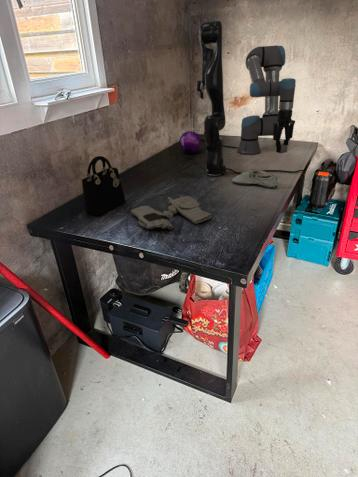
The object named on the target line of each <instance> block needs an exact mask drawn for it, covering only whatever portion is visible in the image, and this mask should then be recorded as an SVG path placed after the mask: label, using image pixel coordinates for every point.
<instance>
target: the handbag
mask: <svg viewBox="0 0 358 477" xmlns="http://www.w3.org/2000/svg"><path fill="white" fill-rule="evenodd" d="M99 161H101V163H102V168H101V170H100V171H99V172H97V170H96V165H97V163H98V162H99ZM106 165H107V168H106ZM91 171H92V174H91ZM86 172H87V173H86V176H85V177H84V178H82V179H81V185H82V193H83V194H82V195H83V200H84V201H83V202H84V209H85V210H84V211H85V213H86V214H90V215H93V216H97V217H98V216H99V217H100V216H102V215H103V214H105V213H108V212H109V211H111V210H113V209H115V208H116V207H118V206H119V205H121V204H123V203H125V202H126V198H125V193H124V188H123V185H122V180H121V177H120V172H119V169H118V168H117V167H112V165H111V162H110V161H109V160H108V158H106V157H105V156H103V155H96V156H95V157H93V159H92V160H91V161H90V162H89V164H88V167H87V170H86Z"/></svg>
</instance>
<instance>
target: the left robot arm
mask: <svg viewBox="0 0 358 477" xmlns="http://www.w3.org/2000/svg"><path fill="white" fill-rule="evenodd" d="M198 30H199V32H198V40H199V44H200V47H201V80H197V81H196V91H197V92H199V95H200V96H199V97H200V99H201V100H204V91H206V94H207V96H208V98H209V101H210V105H211V114H210V115H207V116H208V117H207V116H206V117H207V118H206V117H205V118H206V119H205V118H204V121H205V122H204V121H203V128H204V129H203V134H204V133H205V140H206V144H205V146H206V147H205V148H206V149H205V150H206V151H205V152H206V153H205V155H206V159H205V160H206V161H205V162H206V168H205V171H206V172H205V173H206V175H207V176H208V177H219V176H223V175H224V173H226V172H227V170H228V171H231V172H233V173H234V174H237V175H240V174H241V173H242V172H241V171H240V172H239V171H236V170H235V169H232V168H228V167H226V165H225V164H224V158H223V157H224V156H223V155H224V153H223V152H224V150H223V149H224V146H223V145H224V140H223V138H221V136H220V131H222V130H223V129H224V128H225V127H226V112H225V103H224V69H223V23H222V21H220V20H212V21H205V22H204V21H203V22H202V23H201V24H200V25H199V29H198ZM213 44H215V49H214V48H211V47H207V46H206V45H213ZM258 171H259V170H255V171H253V173H254V174H257V172H258ZM261 171H265V172H267V173H268V172H277V173H278V172H280V173H291V174H292V173H293V174H295V173H300V172H302V173H307V171H306V170H304V169H298V170H284V169H283V170H282V169H264V170H263V169H262V170H261ZM258 173H259V172H258Z"/></svg>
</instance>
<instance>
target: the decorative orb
mask: <svg viewBox="0 0 358 477" xmlns="http://www.w3.org/2000/svg"><path fill="white" fill-rule="evenodd" d="M201 139H202V138H201V137H200V135H199V134H198V133H197V132H195V131H192V130H187V131H185V132H184V133H182V135H181V136H180V138H179V140H178V141H179V142H178V143H179V148H180V149H181V150H182V151H183V153H185V154H194V153H196V152H197V151H198V150H199V149H200V147H201V145H202V140H201Z"/></svg>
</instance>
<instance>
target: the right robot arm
mask: <svg viewBox="0 0 358 477" xmlns="http://www.w3.org/2000/svg"><path fill="white" fill-rule="evenodd" d="M285 64H286V50H285V47H284V46H283V45H277V44H276V45H265V46H263V45H262V46H256V47H255V48H253V49H251V50H250V51H249V52H248V54H247V55H246V57H245V68H246V69H247V70H248V72H249V77H250V82H251V83H250V85H249V97H251V98H264V112H263V113H262V115H261V117H260V115H257V114H256V115H255V114H254V115H249V116H245V117H243V118H242V120H241V126H240V128H241V130H240V143H239V145H238V146H232V145H224V144H223V148H224V147H225V148H230V149H231V148H233V149H237V153H238V154H241V155H248V156H249V155H251V156H252V155H258V154H259V153H261V146H260V142H259V137H269V136H271V137H272V140H273V141H275V152H276V153H278V154H281V153H280V146H281V144H282V141H281V137H282V134H283V130H284V139H283V144H286V145H287V146H289V143H290V141H291V139H293V135H294V128H295V124H296V120H295V119H294V120H293V119H292V117H293V109H294V102H295V92H296V86H297V85H296V84H297V83H296V81H297V80H296V79H295V78H292V77H290V78H289V77H287V78H282V79H281V80H280V72H281V70H282V69H283V67H284V66H285ZM264 73H265V74H264ZM264 75H265V76H264ZM200 139H201V141H202V142H205V140H204V138H200Z"/></svg>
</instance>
